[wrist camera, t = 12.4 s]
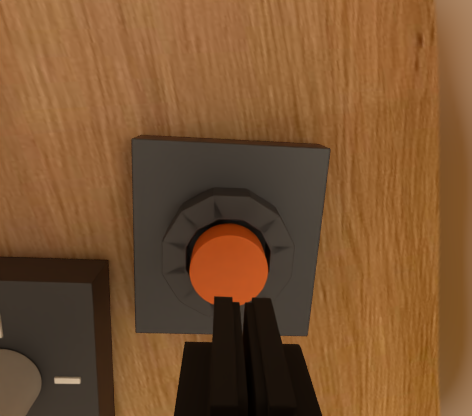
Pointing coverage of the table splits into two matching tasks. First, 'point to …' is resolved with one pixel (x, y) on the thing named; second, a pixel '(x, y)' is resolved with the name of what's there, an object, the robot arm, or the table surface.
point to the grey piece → (220, 212)
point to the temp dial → (17, 383)
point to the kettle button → (228, 264)
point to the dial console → (61, 331)
